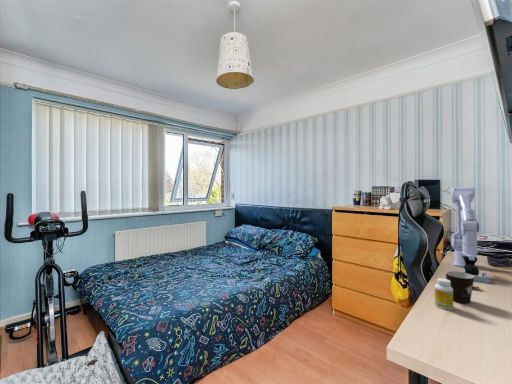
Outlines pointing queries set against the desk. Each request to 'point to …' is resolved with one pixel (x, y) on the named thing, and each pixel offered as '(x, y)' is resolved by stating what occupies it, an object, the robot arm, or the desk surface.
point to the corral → (480, 277)
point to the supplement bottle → (444, 294)
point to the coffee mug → (460, 286)
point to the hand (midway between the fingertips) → (469, 271)
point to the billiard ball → (471, 270)
